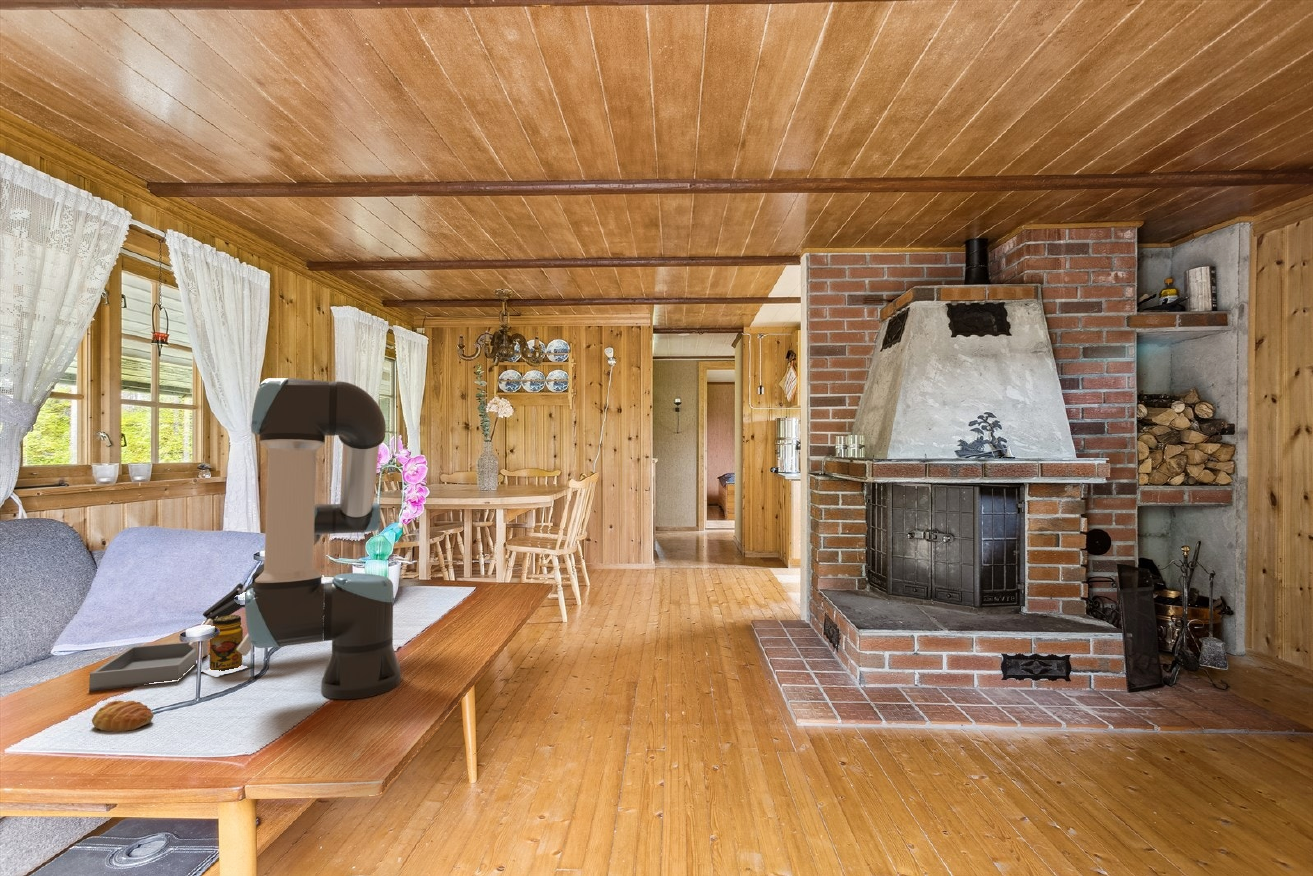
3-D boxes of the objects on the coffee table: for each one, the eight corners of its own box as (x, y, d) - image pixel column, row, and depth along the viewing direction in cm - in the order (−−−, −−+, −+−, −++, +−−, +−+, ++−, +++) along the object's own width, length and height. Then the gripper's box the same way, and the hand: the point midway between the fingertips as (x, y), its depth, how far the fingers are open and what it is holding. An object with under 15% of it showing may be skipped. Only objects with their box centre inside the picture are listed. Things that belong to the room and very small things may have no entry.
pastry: (165, 720, 111) (165, 699, 112) (125, 737, 105) (125, 714, 105) (126, 715, 114) (127, 694, 114) (85, 731, 107) (85, 709, 107)
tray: (177, 682, 130) (178, 665, 130) (89, 691, 125) (89, 673, 125) (207, 655, 148) (207, 640, 148) (130, 662, 142) (130, 646, 142)
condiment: (216, 678, 132) (218, 623, 133) (196, 671, 136) (198, 618, 137) (251, 668, 139) (253, 615, 139) (231, 662, 143) (233, 611, 143)
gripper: (325, 582, 150) (271, 663, 135) (246, 577, 157) (185, 653, 142) (309, 564, 145) (250, 646, 130) (227, 559, 152) (163, 637, 137)
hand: (216, 650), depth 136 cm, fingers open, 13 cm apart
